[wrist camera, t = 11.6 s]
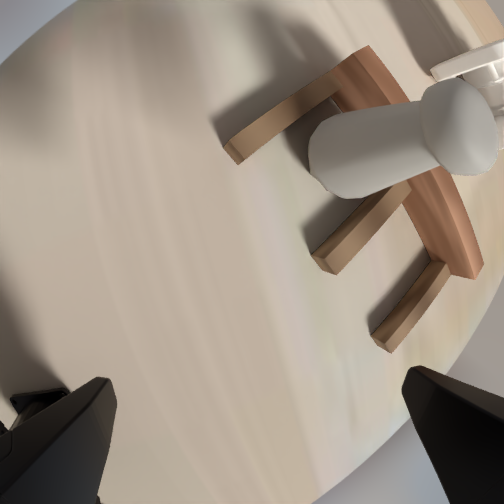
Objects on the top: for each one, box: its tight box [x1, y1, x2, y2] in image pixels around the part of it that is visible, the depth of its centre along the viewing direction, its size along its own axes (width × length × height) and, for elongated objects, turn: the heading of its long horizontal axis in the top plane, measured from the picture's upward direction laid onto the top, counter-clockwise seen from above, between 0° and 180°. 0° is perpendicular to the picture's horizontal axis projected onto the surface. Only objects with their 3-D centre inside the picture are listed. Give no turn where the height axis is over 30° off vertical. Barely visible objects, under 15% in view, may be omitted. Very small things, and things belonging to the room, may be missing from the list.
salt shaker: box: [308, 77, 499, 199], centre depth 14 cm, size 6×6×13 cm
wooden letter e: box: [223, 45, 484, 353], centre depth 19 cm, size 12×20×5 cm, turn 40°
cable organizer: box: [430, 39, 504, 149], centre depth 19 cm, size 15×11×12 cm
